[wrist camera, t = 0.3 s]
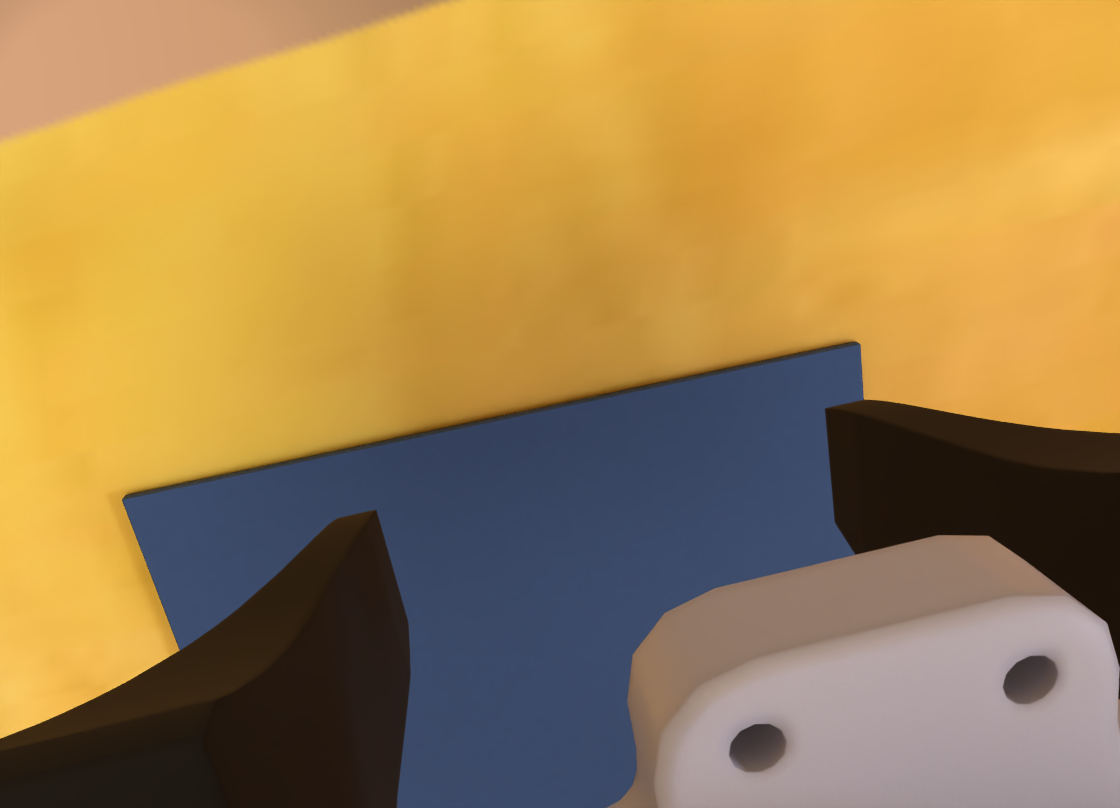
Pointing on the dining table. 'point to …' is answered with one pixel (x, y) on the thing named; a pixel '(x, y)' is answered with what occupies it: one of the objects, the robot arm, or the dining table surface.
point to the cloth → (533, 557)
